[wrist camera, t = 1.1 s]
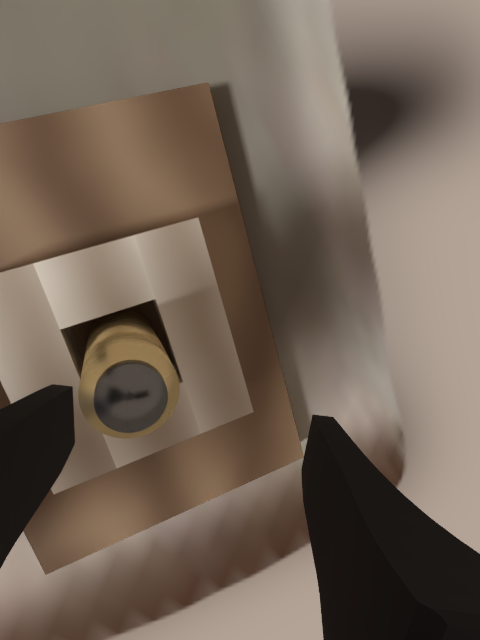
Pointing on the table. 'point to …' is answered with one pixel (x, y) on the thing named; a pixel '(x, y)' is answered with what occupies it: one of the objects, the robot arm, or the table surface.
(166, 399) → the plug
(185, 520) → the table surface
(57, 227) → the wall socket panel
